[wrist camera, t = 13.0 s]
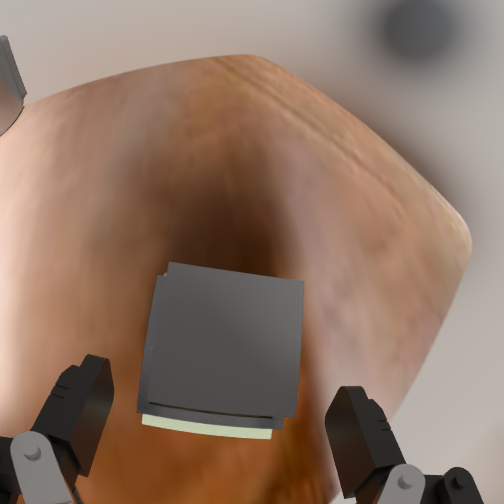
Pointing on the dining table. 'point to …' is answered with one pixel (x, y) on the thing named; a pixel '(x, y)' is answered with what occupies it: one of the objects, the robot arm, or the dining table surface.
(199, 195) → the dining table surface
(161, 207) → the dining table surface
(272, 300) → the chute block
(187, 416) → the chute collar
